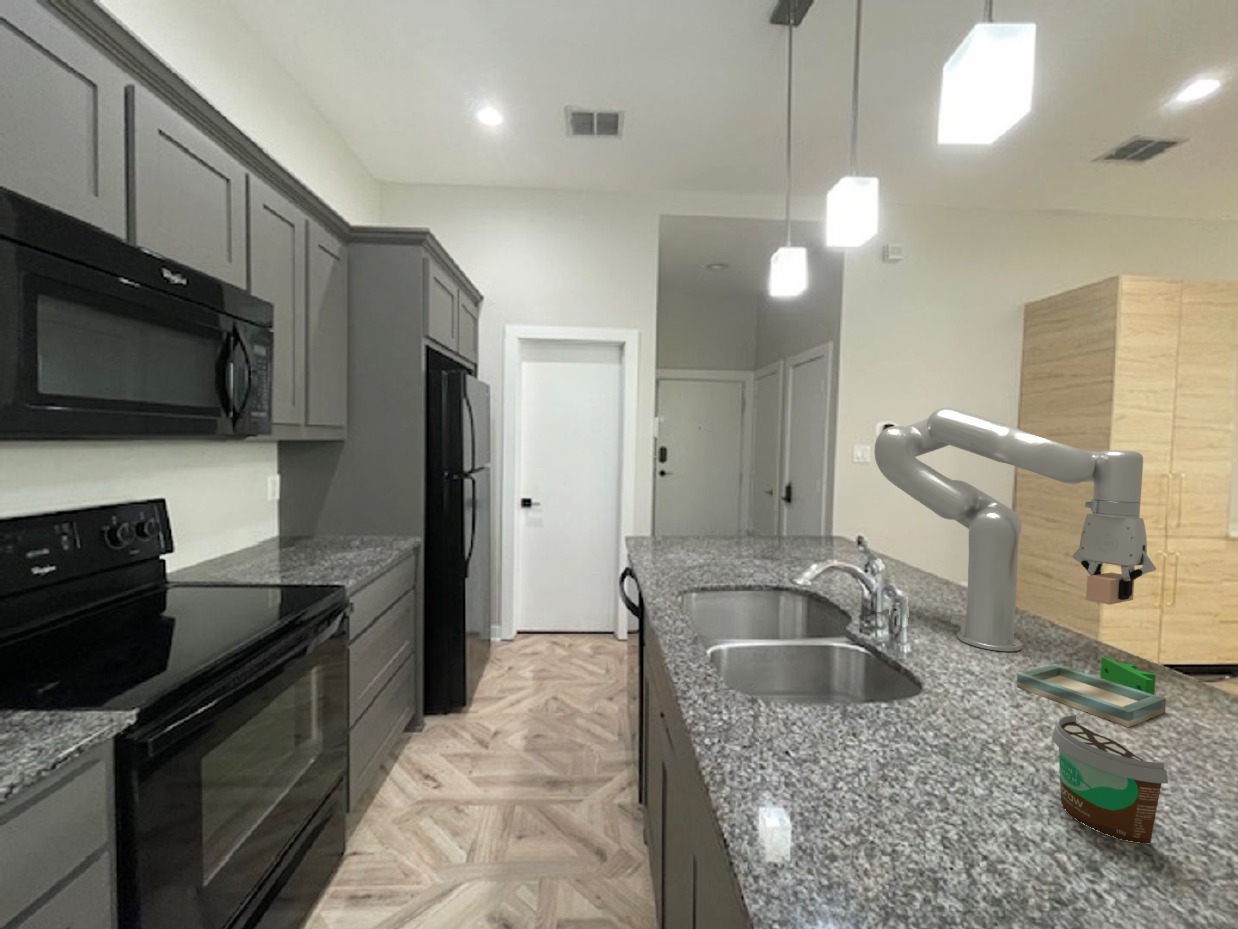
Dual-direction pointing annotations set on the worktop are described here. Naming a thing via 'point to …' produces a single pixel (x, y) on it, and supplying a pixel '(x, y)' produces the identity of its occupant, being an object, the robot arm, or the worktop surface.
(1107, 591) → the salmon pink rectangular block
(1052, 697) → the nest board
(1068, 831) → the worktop surface
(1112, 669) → the pipe clamp
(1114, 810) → the food container
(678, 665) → the worktop surface
